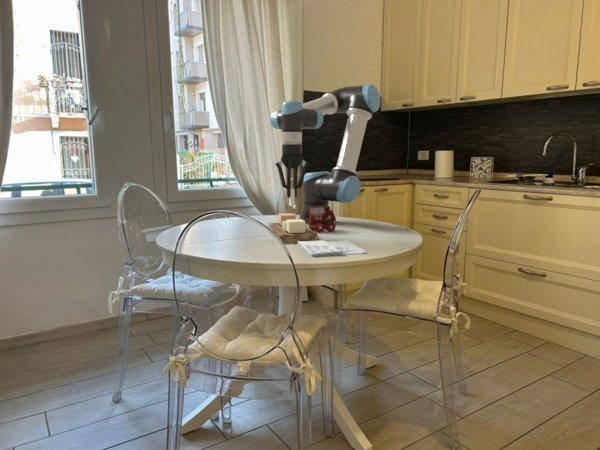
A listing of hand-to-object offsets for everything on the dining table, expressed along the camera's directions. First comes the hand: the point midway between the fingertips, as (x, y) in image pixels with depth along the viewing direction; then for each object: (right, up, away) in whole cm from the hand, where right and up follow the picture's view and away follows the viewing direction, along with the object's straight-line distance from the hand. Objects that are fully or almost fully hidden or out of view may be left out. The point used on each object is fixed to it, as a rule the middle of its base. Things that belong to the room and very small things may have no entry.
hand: (291, 205), depth 168 cm
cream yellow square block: (+1, -10, -6) cm, 12 cm away
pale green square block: (0, -10, +2) cm, 10 cm away
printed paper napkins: (+14, -16, -20) cm, 29 cm away
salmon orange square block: (-2, -7, +9) cm, 11 cm away
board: (0, -11, +2) cm, 12 cm away
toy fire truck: (+12, -10, +13) cm, 21 cm away
